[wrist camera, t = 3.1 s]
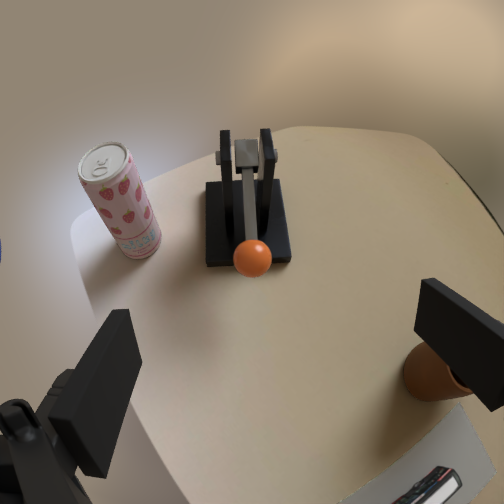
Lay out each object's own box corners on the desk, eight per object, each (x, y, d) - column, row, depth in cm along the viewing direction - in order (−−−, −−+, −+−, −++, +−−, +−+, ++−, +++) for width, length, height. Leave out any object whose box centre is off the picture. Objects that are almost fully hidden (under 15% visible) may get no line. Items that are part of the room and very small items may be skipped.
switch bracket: (290, 262, 39) (310, 190, 27) (207, 267, 38) (191, 195, 26) (278, 185, 44) (289, 106, 32) (206, 188, 44) (196, 109, 32)
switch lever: (270, 275, 32) (275, 276, 28) (234, 278, 32) (234, 279, 28) (262, 149, 33) (265, 136, 29) (227, 150, 32) (227, 137, 29)
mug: (472, 338, 34) (517, 315, 26) (476, 393, 30) (524, 380, 22) (399, 343, 34) (440, 321, 26) (401, 406, 30) (446, 400, 22)
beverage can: (130, 268, 38) (81, 193, 25) (115, 234, 40) (71, 157, 27) (169, 247, 39) (138, 164, 26) (152, 215, 42) (121, 131, 28)
